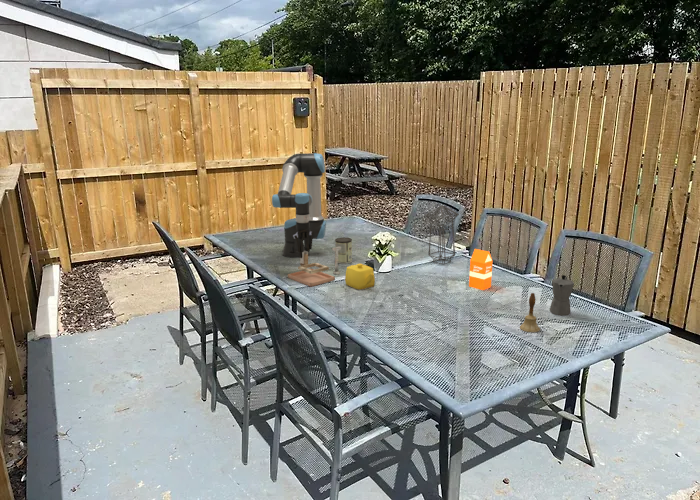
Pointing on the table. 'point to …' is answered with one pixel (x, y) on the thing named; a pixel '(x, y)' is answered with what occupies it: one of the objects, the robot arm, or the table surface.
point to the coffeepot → (561, 296)
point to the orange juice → (480, 270)
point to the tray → (311, 278)
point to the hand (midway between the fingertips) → (304, 262)
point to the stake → (336, 260)
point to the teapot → (359, 276)
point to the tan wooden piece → (306, 265)
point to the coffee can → (344, 250)
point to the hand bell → (530, 318)
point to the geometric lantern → (442, 231)
